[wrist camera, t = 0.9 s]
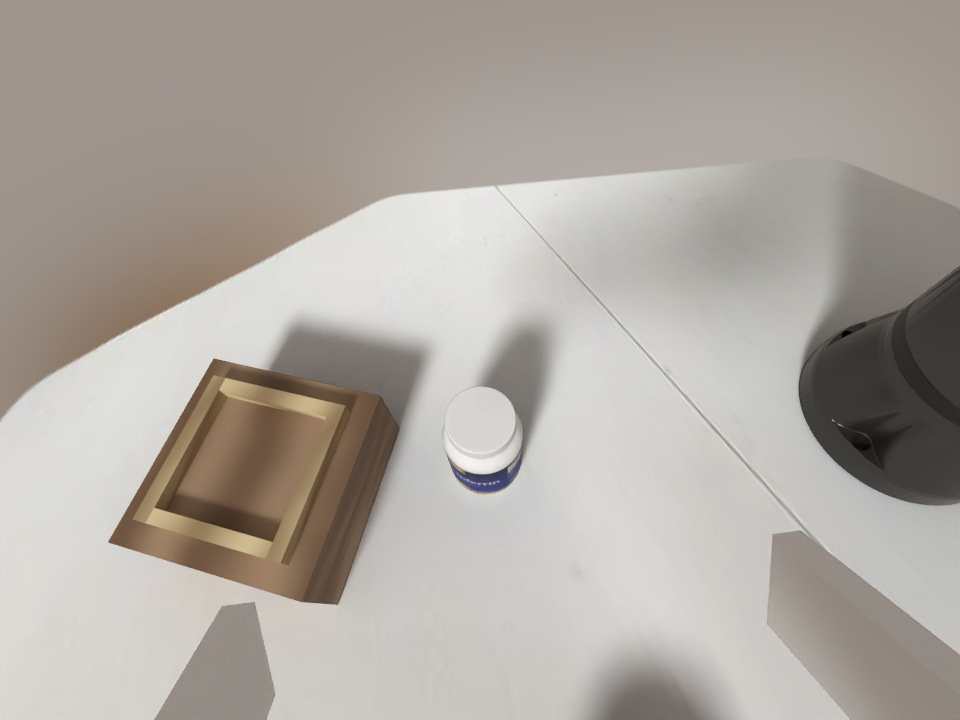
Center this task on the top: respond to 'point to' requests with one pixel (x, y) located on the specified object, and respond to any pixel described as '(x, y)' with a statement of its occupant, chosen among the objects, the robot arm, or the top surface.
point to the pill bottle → (483, 439)
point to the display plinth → (265, 482)
